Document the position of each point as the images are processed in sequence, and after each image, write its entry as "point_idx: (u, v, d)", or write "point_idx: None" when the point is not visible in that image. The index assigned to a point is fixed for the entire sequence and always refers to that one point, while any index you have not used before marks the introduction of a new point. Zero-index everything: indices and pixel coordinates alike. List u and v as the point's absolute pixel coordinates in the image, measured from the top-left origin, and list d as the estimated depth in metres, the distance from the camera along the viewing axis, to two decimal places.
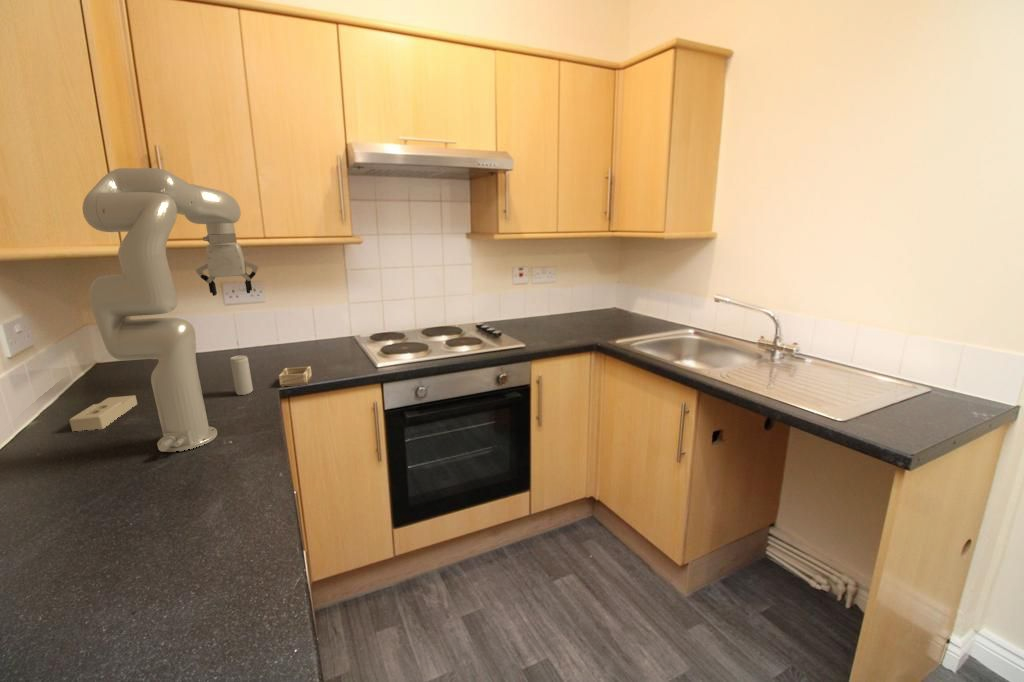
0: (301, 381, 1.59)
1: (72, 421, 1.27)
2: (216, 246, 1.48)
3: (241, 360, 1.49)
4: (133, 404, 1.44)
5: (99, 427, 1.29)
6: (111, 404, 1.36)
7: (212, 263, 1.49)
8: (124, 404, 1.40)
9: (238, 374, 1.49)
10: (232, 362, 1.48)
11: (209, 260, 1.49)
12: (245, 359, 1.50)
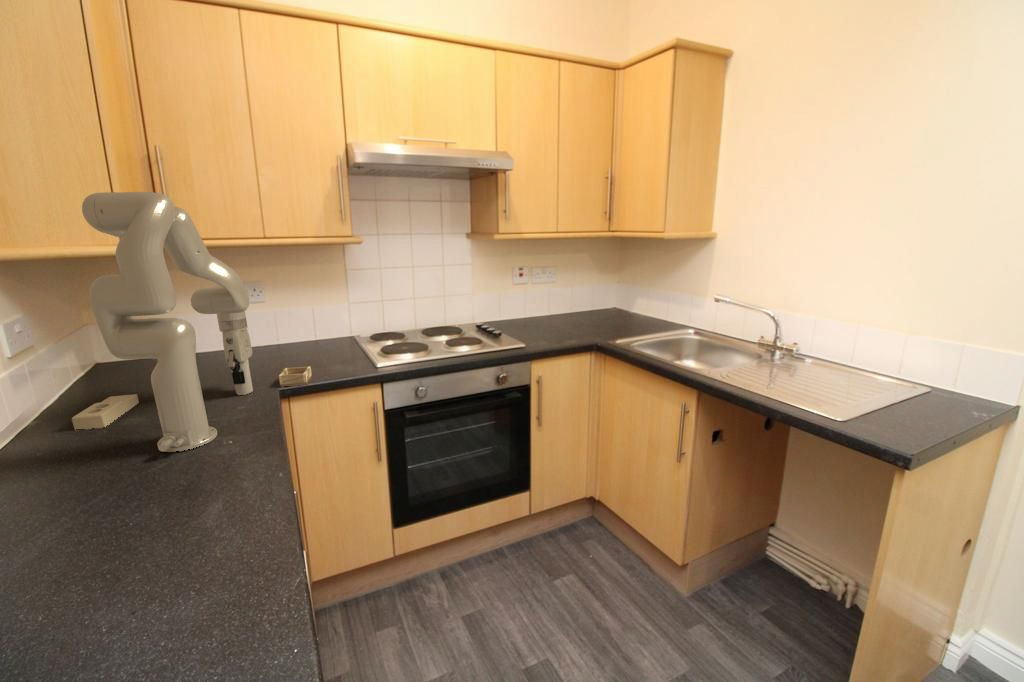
0: (301, 381, 1.59)
1: (74, 419, 1.28)
2: (241, 331, 1.47)
3: None
4: (135, 403, 1.45)
5: (101, 425, 1.30)
6: (113, 402, 1.37)
7: (242, 348, 1.46)
8: (126, 403, 1.41)
9: None
10: None
11: (240, 346, 1.46)
12: None
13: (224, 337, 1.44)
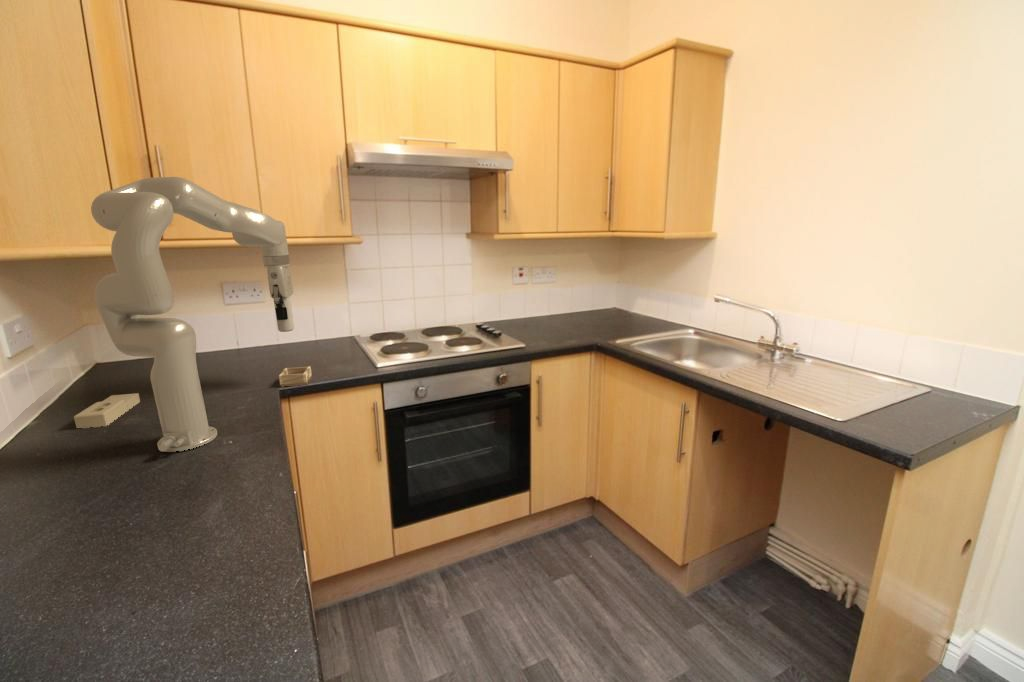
0: (301, 381, 1.59)
1: (76, 418, 1.29)
2: (284, 267, 1.51)
3: None
4: (136, 402, 1.46)
5: (103, 424, 1.31)
6: (115, 401, 1.38)
7: (286, 283, 1.50)
8: (127, 402, 1.41)
9: None
10: None
11: (284, 281, 1.50)
12: None
13: (269, 272, 1.48)
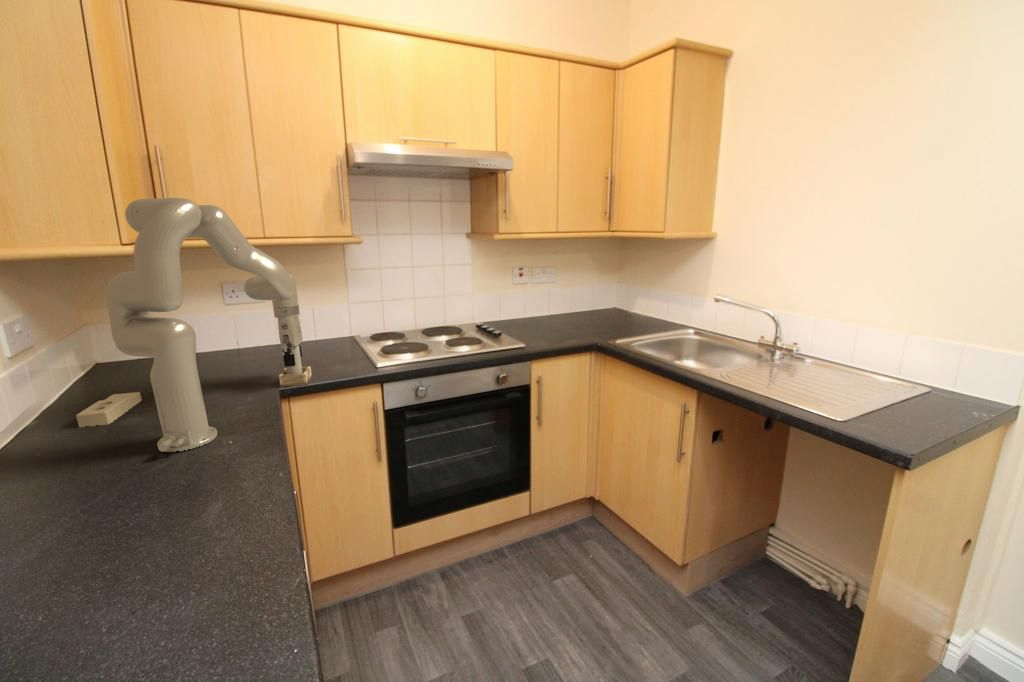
0: (301, 381, 1.59)
1: (79, 417, 1.30)
2: (294, 317, 1.56)
3: (294, 348, 1.58)
4: (138, 401, 1.47)
5: (105, 423, 1.32)
6: (116, 400, 1.39)
7: (295, 333, 1.55)
8: (129, 400, 1.42)
9: None
10: None
11: (294, 331, 1.54)
12: (297, 347, 1.59)
13: (279, 323, 1.52)
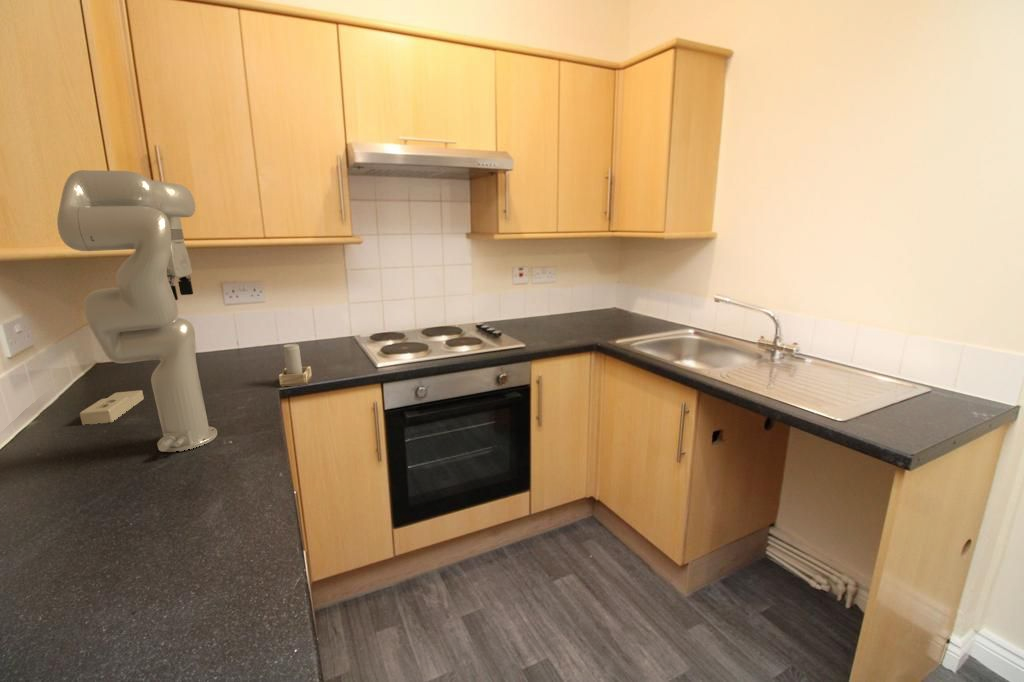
0: (301, 381, 1.59)
1: (82, 414, 1.31)
2: (176, 243, 1.33)
3: (294, 348, 1.58)
4: (140, 399, 1.48)
5: (108, 420, 1.33)
6: (119, 398, 1.41)
7: (177, 262, 1.33)
8: (131, 398, 1.44)
9: (290, 362, 1.58)
10: (285, 350, 1.57)
11: (174, 259, 1.32)
12: (297, 347, 1.59)
13: None
